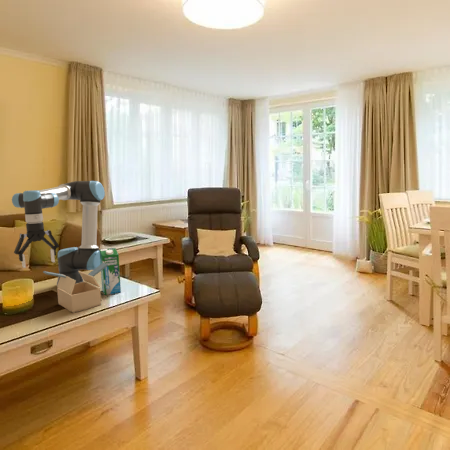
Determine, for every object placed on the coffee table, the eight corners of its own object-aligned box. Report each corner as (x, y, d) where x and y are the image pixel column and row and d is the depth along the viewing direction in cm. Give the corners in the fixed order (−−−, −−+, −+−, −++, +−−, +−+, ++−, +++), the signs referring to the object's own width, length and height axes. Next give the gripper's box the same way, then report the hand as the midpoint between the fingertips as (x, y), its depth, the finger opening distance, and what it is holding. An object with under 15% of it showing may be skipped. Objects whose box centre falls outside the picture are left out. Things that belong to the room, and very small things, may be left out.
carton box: (58, 304, 192) (57, 287, 191) (85, 297, 203) (84, 281, 202) (72, 312, 180) (71, 295, 179) (101, 304, 191) (100, 288, 189)
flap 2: (78, 271, 198) (93, 259, 204) (84, 280, 201) (99, 269, 207) (92, 277, 186) (108, 264, 192) (99, 287, 189) (114, 274, 195)
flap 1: (57, 286, 191) (37, 283, 184) (62, 274, 192) (42, 270, 184) (71, 294, 179) (50, 290, 172) (76, 280, 180) (55, 276, 173)
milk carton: (104, 295, 206) (101, 252, 202) (102, 290, 214) (99, 249, 210) (120, 292, 210) (118, 250, 206) (117, 288, 218) (115, 247, 214)
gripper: (8, 226, 165) (13, 271, 168) (63, 220, 182) (67, 260, 186) (3, 224, 170) (8, 268, 173) (57, 218, 187) (61, 258, 191)
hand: (39, 264), depth 179 cm, fingers open, 13 cm apart
